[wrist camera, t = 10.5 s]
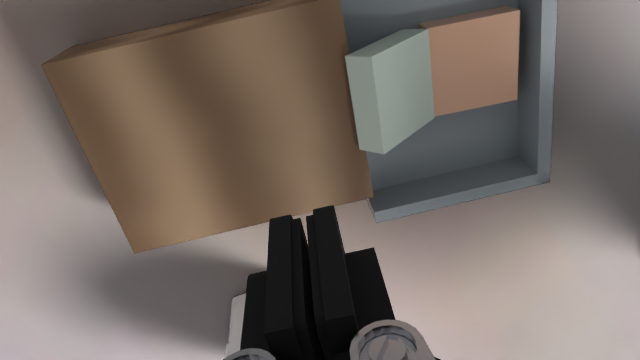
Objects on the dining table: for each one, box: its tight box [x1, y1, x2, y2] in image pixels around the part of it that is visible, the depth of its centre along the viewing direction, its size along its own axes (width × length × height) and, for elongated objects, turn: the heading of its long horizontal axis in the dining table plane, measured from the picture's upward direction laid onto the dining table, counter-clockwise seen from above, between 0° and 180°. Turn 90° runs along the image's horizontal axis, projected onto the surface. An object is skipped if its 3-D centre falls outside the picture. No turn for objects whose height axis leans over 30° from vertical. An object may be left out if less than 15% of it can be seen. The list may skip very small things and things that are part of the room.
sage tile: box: [345, 29, 435, 154], centre depth 25 cm, size 5×5×2 cm
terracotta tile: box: [418, 6, 520, 116], centre depth 26 cm, size 5×5×2 cm
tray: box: [340, 0, 557, 223], centre depth 26 cm, size 11×16×3 cm
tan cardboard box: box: [41, 0, 374, 253], centre depth 26 cm, size 14×11×4 cm
